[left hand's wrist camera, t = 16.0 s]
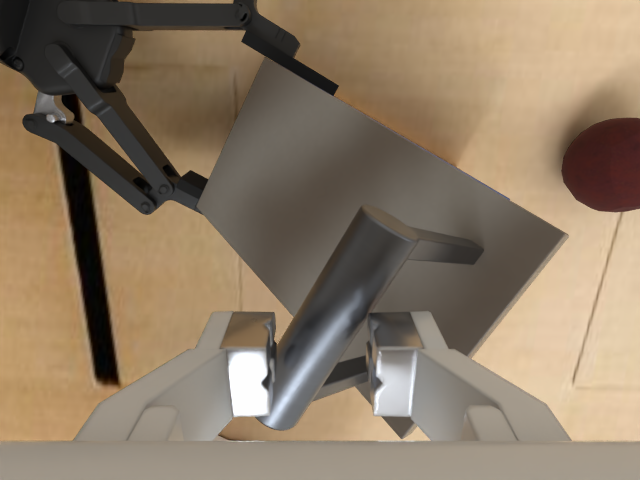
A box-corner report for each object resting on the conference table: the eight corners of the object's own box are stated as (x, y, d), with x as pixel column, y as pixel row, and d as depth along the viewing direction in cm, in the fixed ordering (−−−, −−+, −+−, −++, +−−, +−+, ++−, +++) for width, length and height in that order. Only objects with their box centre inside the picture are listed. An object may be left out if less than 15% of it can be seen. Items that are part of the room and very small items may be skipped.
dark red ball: (622, 98, 35) (694, 103, 28) (639, 180, 37) (708, 202, 31) (537, 137, 36) (587, 151, 29) (559, 214, 39) (609, 242, 32)
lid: (569, 235, 14) (501, 198, 8) (411, 433, 17) (266, 527, 11) (275, 62, 24) (136, -18, 17) (207, 208, 27) (66, 185, 20)
